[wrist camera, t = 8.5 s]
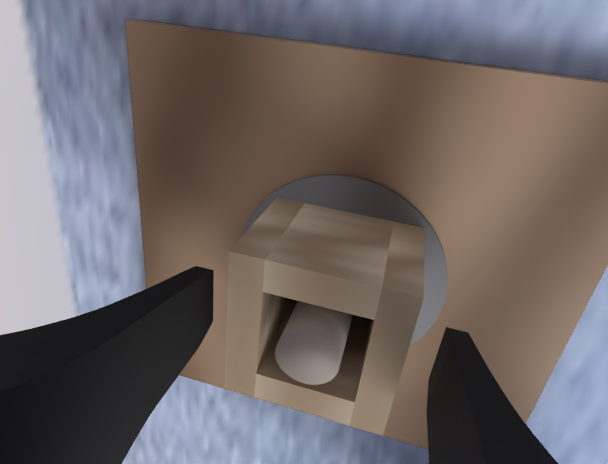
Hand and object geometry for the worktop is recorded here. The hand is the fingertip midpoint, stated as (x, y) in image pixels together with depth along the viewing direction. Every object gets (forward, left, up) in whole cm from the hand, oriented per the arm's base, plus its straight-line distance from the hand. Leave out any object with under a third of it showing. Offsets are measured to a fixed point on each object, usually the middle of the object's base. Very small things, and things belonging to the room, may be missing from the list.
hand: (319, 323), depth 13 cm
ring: (0, 0, -3) cm, 3 cm away
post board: (0, 0, -4) cm, 4 cm away
